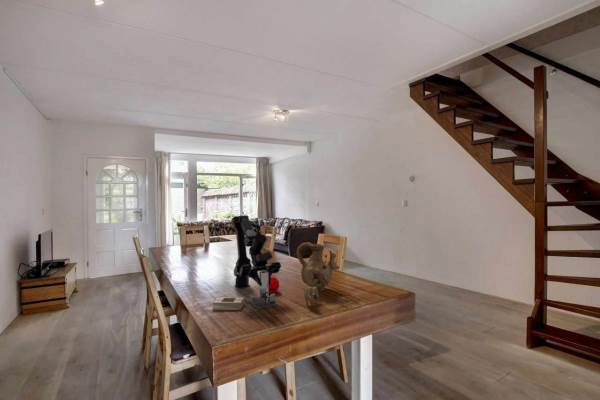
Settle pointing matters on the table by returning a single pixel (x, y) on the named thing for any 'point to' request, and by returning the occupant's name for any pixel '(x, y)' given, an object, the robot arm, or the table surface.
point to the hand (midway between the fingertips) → (265, 284)
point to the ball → (273, 285)
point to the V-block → (263, 301)
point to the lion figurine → (310, 294)
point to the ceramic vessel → (316, 266)
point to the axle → (264, 284)
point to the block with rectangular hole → (228, 303)
